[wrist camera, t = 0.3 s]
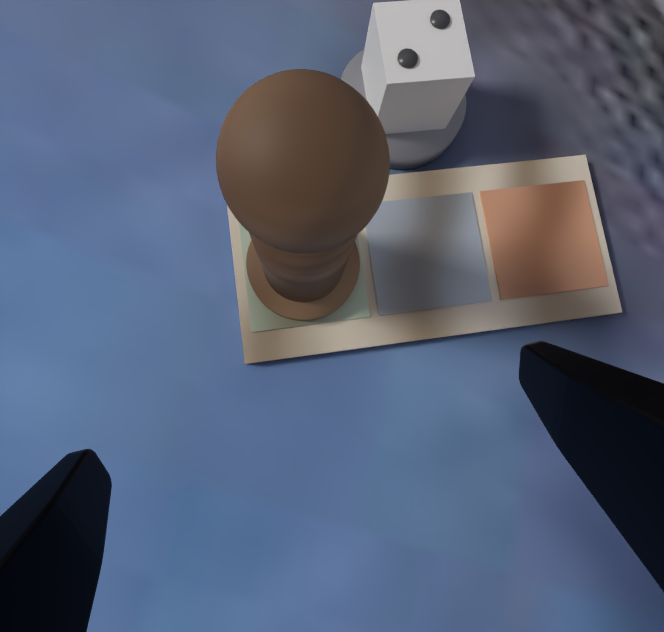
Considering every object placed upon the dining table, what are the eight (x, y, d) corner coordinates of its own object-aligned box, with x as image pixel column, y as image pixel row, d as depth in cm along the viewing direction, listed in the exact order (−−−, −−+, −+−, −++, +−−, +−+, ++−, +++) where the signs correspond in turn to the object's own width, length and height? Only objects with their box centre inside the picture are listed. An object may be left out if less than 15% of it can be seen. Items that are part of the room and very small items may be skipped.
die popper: (446, 51, 25) (485, -36, 20) (468, 163, 24) (514, 103, 19) (328, 60, 24) (335, -27, 19) (346, 175, 23) (358, 117, 18)
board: (578, 160, 24) (586, 153, 24) (614, 313, 23) (623, 312, 23) (227, 196, 23) (225, 190, 22) (246, 364, 22) (244, 363, 21)
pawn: (379, 257, 22) (479, 100, 10) (313, 343, 21) (329, 293, 9) (293, 193, 22) (281, -43, 10) (225, 276, 21) (116, 132, 9)
